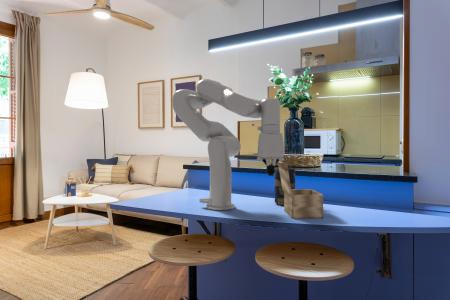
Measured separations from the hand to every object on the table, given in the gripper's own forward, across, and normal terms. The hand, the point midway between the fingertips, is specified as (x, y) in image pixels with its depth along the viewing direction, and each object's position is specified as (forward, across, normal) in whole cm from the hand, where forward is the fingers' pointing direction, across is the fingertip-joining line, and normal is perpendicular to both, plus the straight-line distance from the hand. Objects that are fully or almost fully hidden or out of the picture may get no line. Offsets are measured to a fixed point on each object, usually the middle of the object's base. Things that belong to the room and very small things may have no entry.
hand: (270, 175), depth 130 cm
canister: (+16, +10, +20) cm, 28 cm away
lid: (+1, +6, 0) cm, 6 cm away
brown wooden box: (+16, +13, 0) cm, 21 cm away
